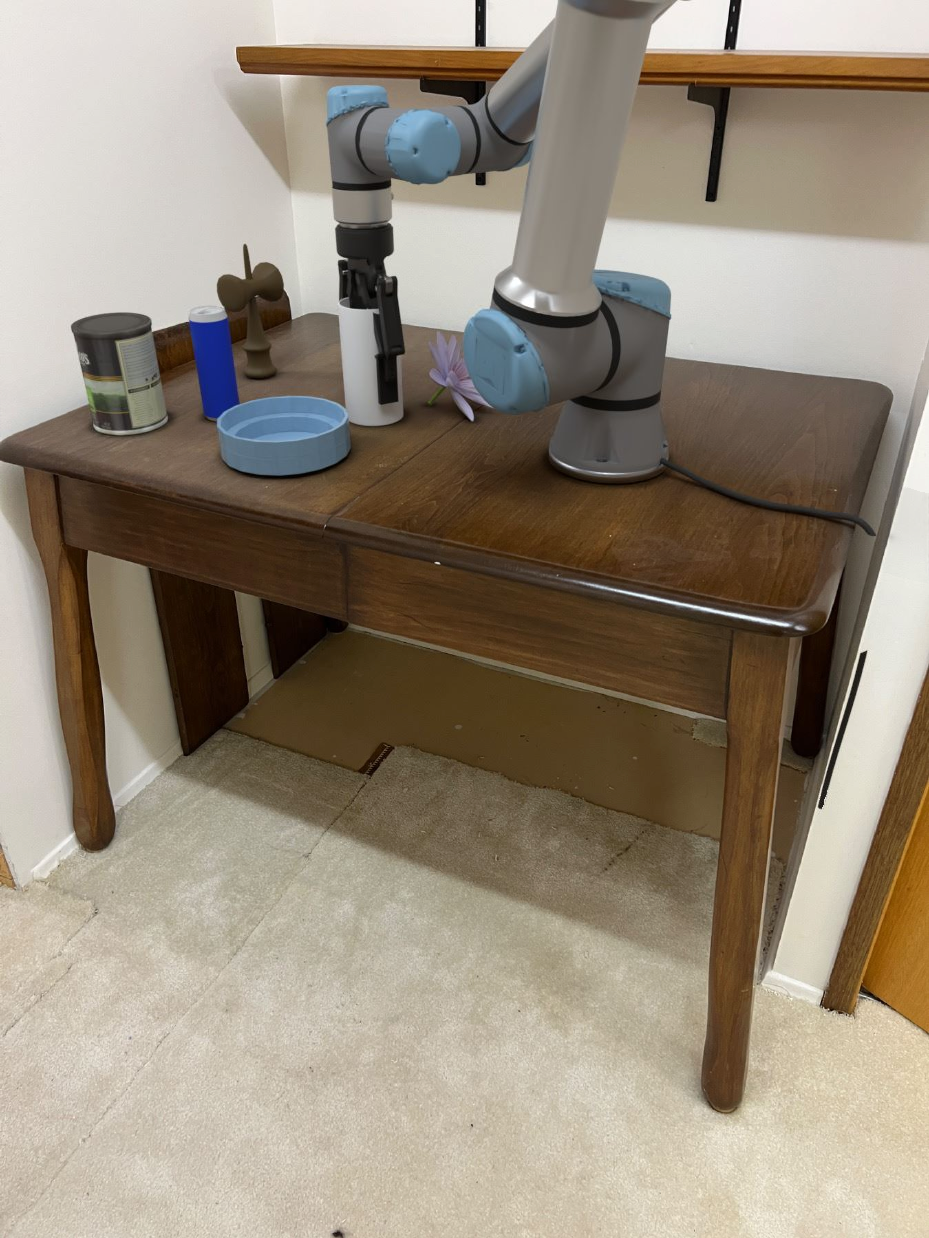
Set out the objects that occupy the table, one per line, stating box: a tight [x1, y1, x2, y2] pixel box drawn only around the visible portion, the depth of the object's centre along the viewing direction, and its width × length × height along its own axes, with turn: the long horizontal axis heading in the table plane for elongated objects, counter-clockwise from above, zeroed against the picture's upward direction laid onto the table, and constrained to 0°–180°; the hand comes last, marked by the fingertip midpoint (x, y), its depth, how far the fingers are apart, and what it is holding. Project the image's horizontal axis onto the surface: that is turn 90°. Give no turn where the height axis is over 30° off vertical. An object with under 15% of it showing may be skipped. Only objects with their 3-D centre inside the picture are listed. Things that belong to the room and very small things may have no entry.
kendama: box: [216, 243, 285, 379], centre depth 145 cm, size 6×10×20 cm, turn 149°
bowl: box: [216, 395, 352, 476], centre depth 122 cm, size 17×17×5 cm
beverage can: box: [188, 305, 241, 422], centre depth 131 cm, size 5×5×15 cm
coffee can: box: [70, 311, 169, 436], centre depth 129 cm, size 10×10×14 cm
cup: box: [337, 297, 404, 427], centre depth 131 cm, size 8×8×16 cm
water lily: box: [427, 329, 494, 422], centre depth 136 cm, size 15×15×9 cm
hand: (373, 392), depth 133 cm, fingers open, 9 cm apart
